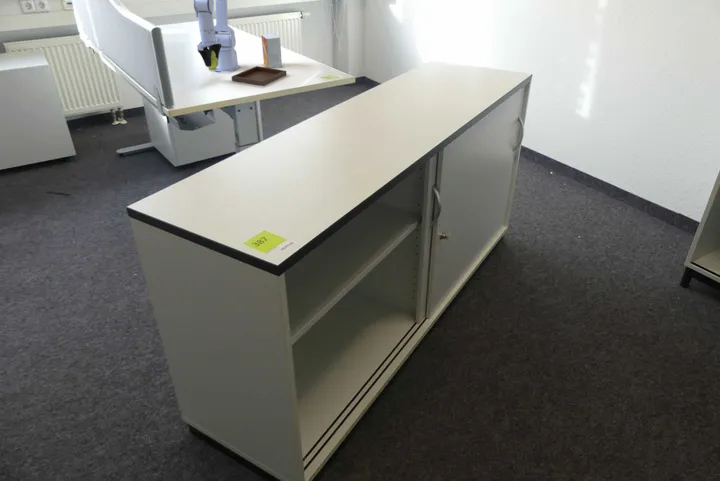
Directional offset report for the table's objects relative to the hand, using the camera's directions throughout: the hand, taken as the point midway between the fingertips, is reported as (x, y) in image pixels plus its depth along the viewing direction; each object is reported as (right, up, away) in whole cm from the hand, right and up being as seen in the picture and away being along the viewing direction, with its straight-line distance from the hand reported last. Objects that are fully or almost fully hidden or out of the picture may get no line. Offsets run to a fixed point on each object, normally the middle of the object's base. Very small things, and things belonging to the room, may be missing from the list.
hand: (211, 64), depth 226 cm
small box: (+21, +7, +25) cm, 34 cm away
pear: (0, -2, +1) cm, 2 cm away
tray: (+18, -4, +8) cm, 20 cm away
